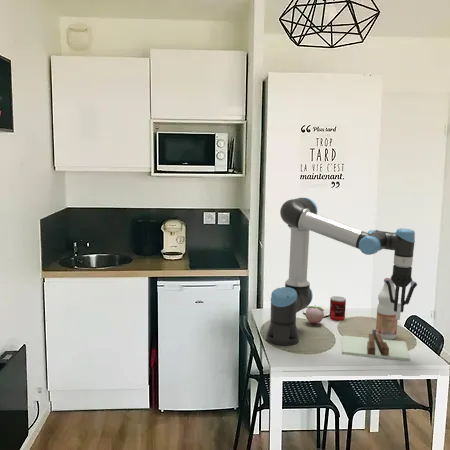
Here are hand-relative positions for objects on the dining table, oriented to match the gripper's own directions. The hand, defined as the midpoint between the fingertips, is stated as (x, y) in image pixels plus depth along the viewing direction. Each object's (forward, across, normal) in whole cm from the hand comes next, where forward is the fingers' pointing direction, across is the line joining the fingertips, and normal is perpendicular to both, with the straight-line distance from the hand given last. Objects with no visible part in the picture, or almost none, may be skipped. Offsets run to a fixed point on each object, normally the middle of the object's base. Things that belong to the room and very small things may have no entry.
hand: (397, 318), depth 222 cm
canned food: (+17, -25, +41) cm, 51 cm away
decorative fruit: (+17, -36, +29) cm, 49 cm away
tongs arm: (+15, -5, +3) cm, 16 cm away
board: (+16, -8, +4) cm, 18 cm away
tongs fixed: (+15, -9, +4) cm, 18 cm away
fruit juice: (+16, -2, +21) cm, 26 cm away
